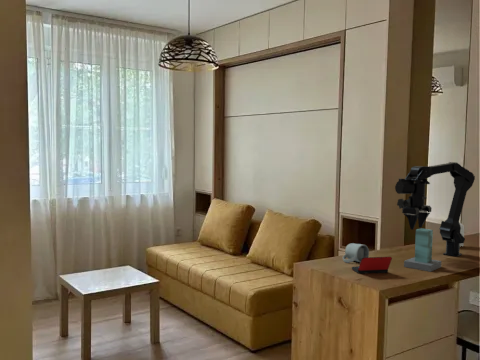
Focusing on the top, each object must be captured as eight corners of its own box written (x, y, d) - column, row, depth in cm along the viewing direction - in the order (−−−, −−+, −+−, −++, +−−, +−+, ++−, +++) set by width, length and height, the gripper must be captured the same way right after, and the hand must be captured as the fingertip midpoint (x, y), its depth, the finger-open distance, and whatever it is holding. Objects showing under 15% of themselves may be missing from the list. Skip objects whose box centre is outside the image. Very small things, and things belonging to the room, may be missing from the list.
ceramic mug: (355, 257, 207) (355, 240, 206) (369, 261, 200) (369, 243, 199) (338, 261, 201) (338, 243, 200) (352, 265, 194) (352, 246, 193)
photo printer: (456, 245, 238) (457, 221, 237) (464, 246, 234) (465, 222, 233) (445, 247, 232) (446, 222, 231) (453, 248, 228) (454, 224, 228)
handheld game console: (379, 268, 189) (380, 250, 188) (392, 275, 178) (392, 256, 178) (350, 269, 187) (351, 251, 186) (361, 276, 176) (361, 257, 176)
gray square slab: (415, 262, 199) (415, 256, 199) (441, 267, 191) (441, 261, 191) (403, 266, 191) (404, 260, 191) (430, 271, 183) (430, 265, 183)
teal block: (419, 258, 195) (420, 228, 194) (431, 261, 191) (432, 229, 190) (414, 260, 191) (415, 229, 190) (426, 263, 187) (427, 231, 187)
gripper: (409, 191, 219) (407, 224, 220) (391, 193, 205) (389, 228, 206) (432, 193, 212) (430, 227, 212) (416, 195, 198) (414, 231, 199)
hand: (416, 228), depth 208 cm, fingers open, 9 cm apart
